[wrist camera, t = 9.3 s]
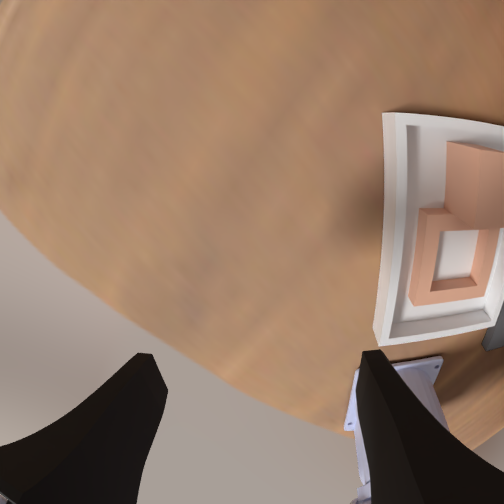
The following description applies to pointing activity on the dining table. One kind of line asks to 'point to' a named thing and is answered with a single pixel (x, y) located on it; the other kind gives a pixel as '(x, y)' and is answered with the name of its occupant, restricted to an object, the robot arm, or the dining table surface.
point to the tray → (450, 242)
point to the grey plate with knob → (495, 333)
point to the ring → (461, 223)
